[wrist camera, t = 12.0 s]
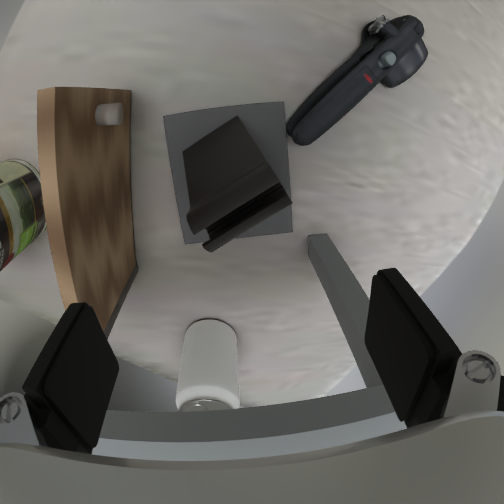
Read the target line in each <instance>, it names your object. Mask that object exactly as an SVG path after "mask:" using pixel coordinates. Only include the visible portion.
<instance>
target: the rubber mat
mask: <svg viewBox="0 0 504 504" xmlns="http://www.w3.org/2000/svg"><path fill="white" fill-rule="evenodd" d="M235 116H238V117H239V119H240V120H241V122H242V123H243V125H244V126H245V128H246V129H247V131H248V132H249V134H250V135H251V137H252V138H253V140H254V141H255V143H256V144H257V146H258V148H259V149H260V151H261V152H262V154H263V155H264V157H265V158H266V160H267V162H268V163H269V165H270V166H271V168H272V169H273V171H274V173H275V174H276V176H277V177H278V179H279V181H280V182H281V184H282V185H283V187H284V189H285V190H286V192H287V194H288V196H289V198H290V199H291V192H290V177H289V162H288V148H287V135H286V123H285V111H284V102H269V103H256V104H246V105H236V106H227V107H219V108H211V109H204V110H197V111H191V112H185V113H179V114H173V115H167V116H163V119H164V126H165V133H166V140H167V146H168V153H169V159H170V165H171V171H172V177H173V183H174V189H175V195H176V200H177V206H178V211H179V216H180V222H181V227H182V232H183V237H184V242H185V244H193V243H201V242H206V241H208V240H210V238H209V235H208V233H207V230H206V229H203V230H202V231H200V232H199V233H197V234H196V235H193V233H192V231H191V229H190V227H189V225H188V222H187V218H186V215H187V213H188V212H189V210H190V201H189V195H188V188H187V181H186V174H185V167H184V160H183V153H182V152H183V151H184V150H185V149H187V148H188V147H190V146H191V145H193V144H194V143H196V142H197V141H199V140H200V139H201V138H203V137H204V136H206V135H207V134H209V133H210V132H212V131H214V130H215V129H217V128H218V127H220V126H221V125H223V124H224V123H226V122H228V121H229V120H231V119H232V118H234V117H235ZM288 232H293V229H292V210H291V205H289V206H287V207H286V208H284V209H282V210H281V211H279V212H277V213H276V214H274V215H272V216H271V217H269V218H267V219H266V220H264V221H262V222H261V223H259V224H257V225H256V226H254V227H252V228H251V229H249V230H247V231H246V232H244V233H243V234H241V235H239V236H238V237H236V238H243V237H252V236H261V235H270V234H279V233H288ZM234 239H235V238H234Z"/></svg>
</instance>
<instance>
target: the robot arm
mask: <svg viewBox="0 0 504 504" xmlns="http://www.w3.org/2000/svg"><path fill="white" fill-rule="evenodd" d="M364 341H365V346H366V348H367V350H368V353H369V355H370V357H371V359H372V361H373V363H374V365H375V368H376V370H377V372H378V374H379V376H380V379H381V381H382V383H383V385H384V387H385V390H386V392H387V394H388V396H389V399H390V401H391V403H392V405H393V408H394V410H395V412H396V415H397V417H398V419H399V420H400V421H401V422H402V421H404V422H405V425H406V427H407V429H404V430H400V431H397V432H393V433H389V434H386V435H382V436H378V437H374V438H370V439H366V440H362V441H357V442H353V443H349V444H344V445H339V446H335V447H330V448H324V449H319V450H313V451H307V452H301V453H294V454H286V455H278V456H270V457H260V458H249V459H236V460H216V461H163V460H142V459H129V458H118V457H109V456H101V455H93V454H92V451H93V448H95V447H96V446H97V444H98V440H99V437H100V433H101V429H102V426H103V422H104V418H105V415H106V411H107V407H108V404H109V401H110V398H111V394H112V391H113V388H114V385H115V381H116V378H117V375H118V372H119V365H118V361H117V359H116V357H115V355H114V353H113V351H112V349H111V347H110V345H109V343H108V341H107V338H106V336H105V334H104V332H103V330H102V327H101V325H100V323H99V321H98V318H97V316H96V314H95V311H94V309H93V307H92V306H89V305H88V304H87V303H86V302H80V303H71V304H70V305H69V306H68V308H67V309H66V311H65V313H64V314H63V316H62V317H61V319H60V321H59V322H58V324H57V326H56V327H55V329H54V331H53V332H52V334H51V336H50V337H49V339H48V341H47V342H46V344H45V346H44V348H43V349H42V351H41V353H40V355H39V356H38V358H37V360H36V362H35V364H34V366H33V367H32V369H31V371H30V373H29V375H28V377H27V379H26V381H25V383H24V385H23V386H22V388H23V390H24V391H25V395H24V397H23V396H22V395H21V394H19V393H9V394H6V395H4V396H3V397H1V398H0V504H504V376H501V372H500V366H499V364H498V362H497V361H496V360H495V359H494V357H492V356H491V355H490V354H488V353H486V352H483V351H478V350H473V351H468V352H465V353H463V354H462V353H461V352H460V350H459V349H458V347H457V346H456V344H455V343H454V341H453V340H452V339H451V337H450V336H449V335H448V333H447V332H446V331H445V329H444V328H443V327H442V325H441V324H440V323H439V321H438V320H437V319H436V317H435V316H434V315H433V313H432V312H431V311H430V309H429V308H428V307H427V306H426V304H425V303H424V302H423V301H422V299H421V298H420V297H419V296H418V294H417V293H416V292H415V291H414V289H413V288H412V287H411V286H410V284H409V283H408V282H407V281H406V280H405V278H404V277H403V276H402V275H401V274H400V272H399V271H398V270H397V269H396V268H389V269H383V270H379V271H378V272H377V275H374V276H373V278H372V286H371V294H370V302H369V310H368V317H367V324H366V330H365V337H364Z"/></svg>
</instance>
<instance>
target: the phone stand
mask: <svg viewBox="0 0 504 504" xmlns="http://www.w3.org/2000/svg"><path fill="white" fill-rule="evenodd" d="M182 153H183V160H184V167H185V174H186V181H187V188H188V195H189V201H190V210H189V212H188V213H187V215H186V218H187V222H188V225H189V227H190V229H191V231H192V233H193V235H196V234H197V233H199V232H200V231H202V230H203V229H206V230H207V233H208V235H209V238H210V240H208V241H206V242H205V243H203V244H202V245H203V248H204V249H206V250H207V251H209V252H213V251H215V250H216V249H218V248H220V247H221V246H223V245H225V244H226V243H228V242H229V241H231V240H233V239H234V238H236V237H238V236H239V235H241V234H243V233H244V232H246V231H247V230H249V229H251V228H252V227H254V226H256V225H257V224H259V223H261V222H262V221H264V220H266V219H267V218H269V217H271V216H272V215H274V214H276V213H277V212H279V211H281V210H282V209H284V208H286V207H287V206H289V205H291V204H292V201H291V199H290V198H289V196H288V194H287V192H286V190H285V189H284V187H283V185H282V184H281V182H280V181H279V179H278V177H277V176H276V174H275V173H274V171H273V169H272V168H271V166H270V165H269V163H268V162H267V160H266V158H265V157H264V155H263V154H262V152H261V151H260V149H259V148H258V146H257V144H256V143H255V141H254V140H253V138H252V137H251V135H250V134H249V132H248V131H247V129H246V128H245V126H244V125H243V123H242V122H241V120H240V119H239V117H238V116H235V117H234V118H232V119H231V120H229V121H228V122H226V123H224V124H223V125H221V126H220V127H218V128H217V129H215V130H214V131H212V132H210V133H209V134H207V135H206V136H204V137H203V138H201V139H200V140H199V141H197V142H196V143H194V144H193V145H191V146H190V147H188V148H187V149H185V150H184V151H183V152H182Z"/></svg>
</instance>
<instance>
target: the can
mask: <svg viewBox="0 0 504 504" xmlns="http://www.w3.org/2000/svg"><path fill="white" fill-rule="evenodd" d="M239 403H240V401H239V374H238V351H237V337H236V334H235V332H234V330H233V329H232V328H231V327H230V326H229V325H227V324H225V323H223V322H221V321H218V320H212V319H207V320H201V321H198V322H195V323H193V324H192V325H191V326H190V327H189V328H188V329H187V331H186V333H185V337H184V343H183V349H182V356H181V363H180V370H179V377H178V384H177V392H176V404H177V407H178V409H179V411H178V412H187V411H210V410H226V409H238V408H239Z"/></svg>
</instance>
